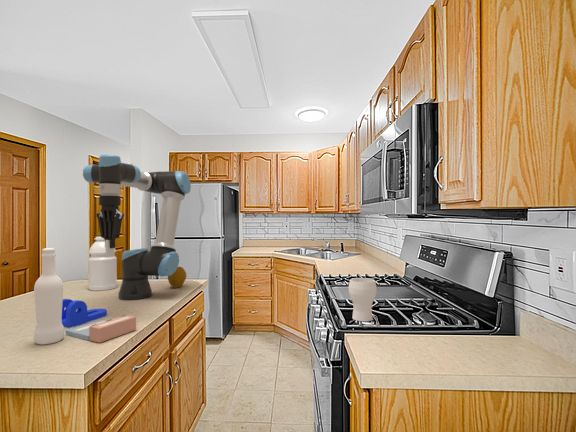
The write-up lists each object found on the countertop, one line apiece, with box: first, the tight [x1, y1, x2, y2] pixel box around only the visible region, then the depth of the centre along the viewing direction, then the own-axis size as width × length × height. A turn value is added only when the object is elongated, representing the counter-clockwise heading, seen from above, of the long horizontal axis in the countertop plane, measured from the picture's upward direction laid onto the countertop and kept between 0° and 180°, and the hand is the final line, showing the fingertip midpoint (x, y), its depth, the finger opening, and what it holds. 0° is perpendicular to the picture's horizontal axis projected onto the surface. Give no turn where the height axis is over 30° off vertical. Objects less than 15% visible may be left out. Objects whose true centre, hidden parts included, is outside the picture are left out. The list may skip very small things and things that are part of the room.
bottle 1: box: [33, 247, 65, 346], centre depth 116 cm, size 8×8×30 cm
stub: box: [89, 314, 137, 343], centre depth 122 cm, size 14×5×5 cm, turn 153°
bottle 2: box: [87, 235, 118, 292], centre depth 195 cm, size 14×14×28 cm
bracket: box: [62, 298, 108, 329], centre depth 139 cm, size 18×8×9 cm, turn 158°
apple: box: [167, 266, 187, 289], centre depth 198 cm, size 10×10×12 cm
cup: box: [348, 277, 378, 322], centre depth 140 cm, size 11×11×15 cm
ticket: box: [65, 319, 109, 341], centre depth 126 cm, size 14×12×2 cm
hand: (110, 256), depth 139 cm, fingers closed
